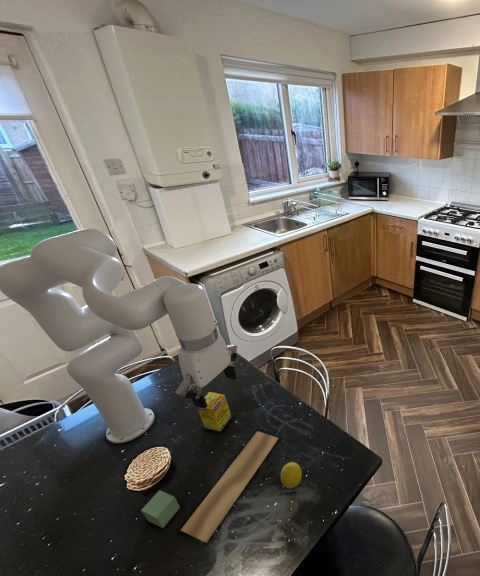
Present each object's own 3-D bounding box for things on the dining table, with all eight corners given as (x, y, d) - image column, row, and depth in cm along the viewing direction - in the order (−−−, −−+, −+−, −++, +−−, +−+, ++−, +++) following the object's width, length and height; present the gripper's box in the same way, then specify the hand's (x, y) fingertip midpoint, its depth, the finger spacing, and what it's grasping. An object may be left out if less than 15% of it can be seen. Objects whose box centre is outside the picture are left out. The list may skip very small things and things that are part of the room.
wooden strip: (180, 530, 76) (180, 530, 76) (257, 431, 100) (257, 431, 100) (206, 543, 74) (206, 542, 74) (278, 438, 98) (278, 438, 98)
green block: (147, 521, 78) (140, 510, 75) (165, 500, 82) (159, 490, 79) (163, 528, 76) (156, 517, 74) (180, 507, 81) (174, 496, 78)
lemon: (285, 498, 83) (281, 480, 79) (281, 479, 87) (276, 462, 83) (305, 488, 85) (302, 471, 81) (300, 470, 89) (297, 453, 86)
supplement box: (221, 432, 100) (212, 409, 94) (204, 429, 101) (195, 405, 95) (232, 417, 105) (225, 394, 99) (217, 414, 106) (208, 391, 100)
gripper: (215, 313, 78) (230, 365, 86) (150, 357, 63) (175, 414, 72) (239, 319, 76) (252, 371, 84) (178, 366, 61) (201, 423, 70)
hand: (217, 391), depth 78 cm, fingers open, 9 cm apart
